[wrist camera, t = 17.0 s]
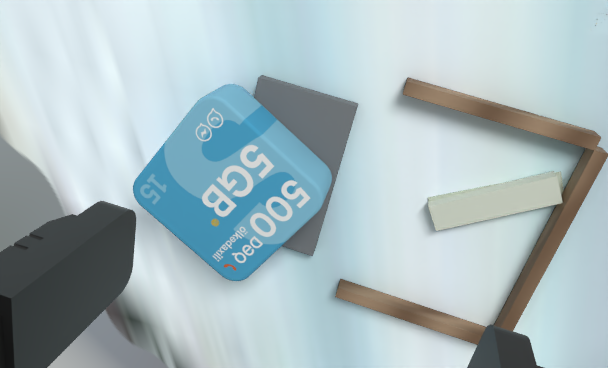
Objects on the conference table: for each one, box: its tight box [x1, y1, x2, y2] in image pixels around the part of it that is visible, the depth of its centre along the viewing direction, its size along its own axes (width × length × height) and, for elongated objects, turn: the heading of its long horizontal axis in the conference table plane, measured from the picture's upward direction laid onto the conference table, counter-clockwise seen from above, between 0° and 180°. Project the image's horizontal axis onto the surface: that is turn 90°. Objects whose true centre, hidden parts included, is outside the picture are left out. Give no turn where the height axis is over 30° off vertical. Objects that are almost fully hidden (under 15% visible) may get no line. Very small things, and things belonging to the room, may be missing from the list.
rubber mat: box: [254, 75, 358, 256], centre depth 42 cm, size 8×14×1 cm, turn 166°
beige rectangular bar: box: [428, 171, 564, 231], centre depth 40 cm, size 3×10×2 cm, turn 108°
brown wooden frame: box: [335, 78, 608, 345], centre depth 41 cm, size 15×20×2 cm
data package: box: [133, 84, 332, 281], centre depth 41 cm, size 12×4×12 cm
